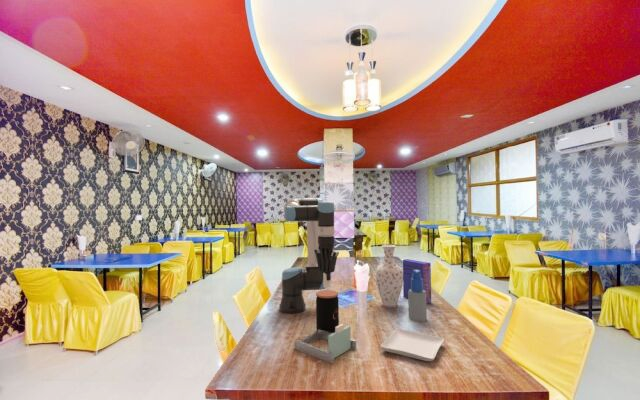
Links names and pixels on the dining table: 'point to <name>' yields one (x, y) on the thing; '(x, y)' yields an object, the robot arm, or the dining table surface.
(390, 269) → the vase
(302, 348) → the open-ended rimmed tray
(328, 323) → the coffee jar
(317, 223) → the robot arm
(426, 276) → the cereal box
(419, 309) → the spray bottle
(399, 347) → the salad plate
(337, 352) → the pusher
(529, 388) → the dining table surface
